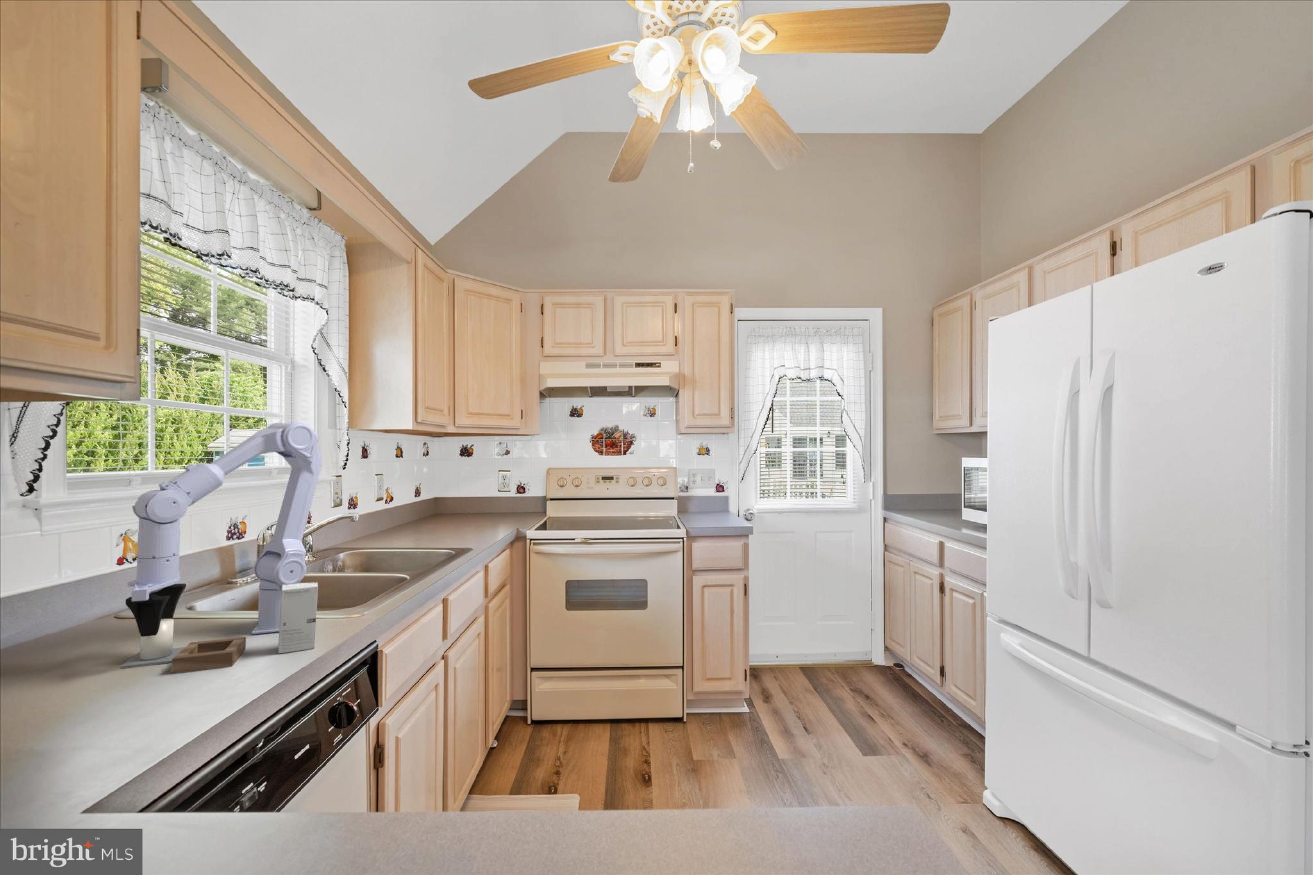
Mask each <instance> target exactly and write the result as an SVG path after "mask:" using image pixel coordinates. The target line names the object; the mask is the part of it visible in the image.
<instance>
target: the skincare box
mask: <svg viewBox="0 0 1313 875" xmlns="http://www.w3.org/2000/svg"><path fill="white" fill-rule="evenodd" d="M318 590H319V585H318V581H315V582H300V583H297V584H288V585H282V591H281V608H280V623H279V632H278V647H277V654H279V655H280V654H284V653H291V652H292V653H293V652H299V651H305V650H306V651H307V650H312V649H314V648H316V646H315V645H316V626H317V611H318V610H317V609H318V608H317V606H318V595H319V594H318V593H319V592H318Z"/></svg>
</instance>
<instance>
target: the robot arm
mask: <svg viewBox="0 0 1313 875" xmlns="http://www.w3.org/2000/svg"><path fill="white" fill-rule="evenodd" d="M319 439H320V436H319V435H318V434H317V432H316V431H315V430H314V429H313V428H312V426H310V425H309V424H308V423H305V422H293V423H292V422H290V423H289V422H288V423H287V422H273V423H272V424H269V425H268V426H267V427H266V428H261V429H259V430H257V431H256V432H254V434H252V435H251V436H249V437H248V438H246V439H245V440H243V441H242V442H240V443H239V444H238V445H236V446H234V447H233V448H232V449H230V450H229V451H227V452H225V454H223V455H221V456H220V457H218V458H217V459H215V460H214V461H212V462H211V463H207V462H206V463H205V462H199V463H197V464H191V463H190V464H188V465H187V466H185V467H184V470H185V471H183V472H181V473H180V474H178V475H177V476H175V477H173V478H172V479H170V480H169V481H161V482H159V483H158V487H159V489H154V490H148V491H146V492H144V493H142V494H141V495H140V496H139V497H138V498H137V500H136V501H135V503H134V505H132V512H133V514H134V515H135V516H136V517H137V518H138V531H137V548H136V549H137V551H136V552H137V553H136V579H134V580H133V579H132V580H130V581H128V582H127V587H134V589H132V590H131V596H129V597H127V598H126V599H125V606H126V607H128V609H129V610H130V612H131V613H132V615H133V617H134V619H135V622H136V626H137V629H138V633H139V635H140V638H141V637H144V636H155V635H157V633H158V631H159V627H160V622H161V619H174V616H175V613H176V612H175V611H176V609H177V605H178V603H179V600H180V598H181V596H182V594H183V592H184V591H185V589H186V587H187V584H186V583H180V581H181V570H180V569H179V568H180V548H181V547H180V546H181V545H180V544H181V543H180V541H181V537H180V536H181V529H180V528H181V527H180V524H181V518H183V517H184V516H185V514H186V513H187V510H188V509H189V507H191V506H193V505H194V504H195V503H197V502H198V501H200V500H202V499H204V498H205V497H207V496H208V495H209V494H211V493H212V492H214V491H216V490H217V489H219V488H220V487H222V486H223V483H224V481H225V480H224V479H225V476H227V475H228V474H230V473H231V472H233V471H235V470H237V469H239V468H241V467H242V466H244V465H246V464H248V463H249V462H250V461H252V460H255V459H256V458H257V457H259V456H261V455H263V454H268V453H276V454H277V455H279V456H281V457H282V458H283V459H284V460H285V462H287V464H288V465H289V466H290V468H291V470H290V474H289V477H288V479H287V485H286V489H285V492H284V495H283V499H282V502H281V507H280V510H279V514H278V516H277V521H276V525H275V529H274V532H273V536H272V538H271V540H270V541H269V542H268V543H266V544H265V545H264V547H263V551H262V553H261V554H260V556H259V557H258V558H257V560H256V561H255V562H254V565H253V573H254V575H255V577H256V578H257V579H258V580H259V584H258V608H257V609H258V611H257V624H256V626H255V627H254V629H253V630H252V631H251V635H257V634H258V635H259V634H267V633H279V623H280V608H281V591H282V585H288V584H297V583H301V581H302V580H303V579H304V577H305V575H306V573H307V565H306V555H307V550H306V548H305V546H304V544H303V538H304V534H305V530H306V526H307V523H308V519H309V515H310V512H311V507H312V503H313V499H314V496H315V492H316V489H317V488H316V487H317V484H318V482H319V477H320V473H321V470H322V469H321V468H322V466H323V465H322V463H323V461H322V456H321V453H320V448H319V446H318V445H319V444H318V442H319Z"/></svg>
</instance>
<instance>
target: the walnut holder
mask: <svg viewBox="0 0 1313 875" xmlns="http://www.w3.org/2000/svg"><path fill="white" fill-rule="evenodd" d="M184 647H185V648H184V649H183V650H182V651H180V652H179V653H178V654H177V655H176V656H175V657H174V658H173V659H172V663H171V675H172V674H173V675H174V674H179V673H180V674H181V673H188V672H189V673H190V672H196V671H204V670H205V671H206V670H212V669H213V670H214V669H221V668H222V667H223V668H229V667H230V668H231V667H233V666H234V665H235V664H236V663H237V661H238V660H239V658H240V657H241V656H242V655H243V653H244V652H245V651H246V650H247V649H246V648H247V636H238V637H230V638H218V639H209V640H199V641H191V642H189V643H188V644H187V645H186V646H184Z"/></svg>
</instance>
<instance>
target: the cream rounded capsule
mask: <svg viewBox="0 0 1313 875" xmlns="http://www.w3.org/2000/svg"><path fill="white" fill-rule="evenodd" d="M174 621H175V619H174V618H173V619H161V622H160V627H159V631H158V633H157V635H155V636H144V637H141V636H140V639H139V640H140V644H139V652H140V656H139V659H142V660H149V659H156V658H161V657H165V656H168V655H170V654H172V648H173V641H174V626H175V625H174V624H175V623H174Z"/></svg>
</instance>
